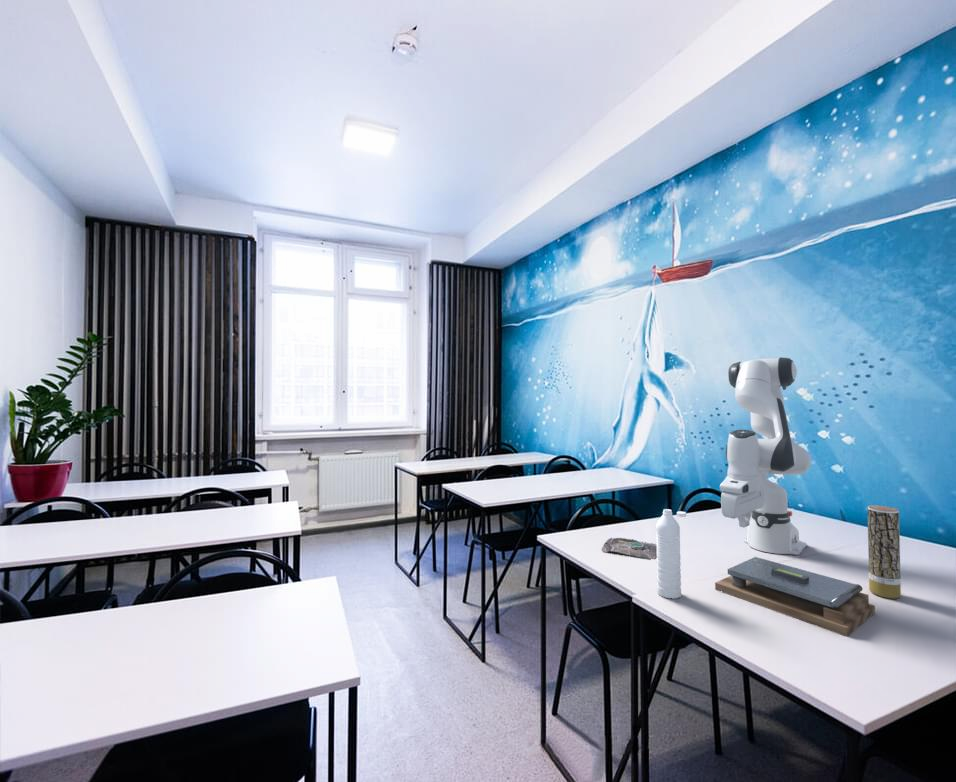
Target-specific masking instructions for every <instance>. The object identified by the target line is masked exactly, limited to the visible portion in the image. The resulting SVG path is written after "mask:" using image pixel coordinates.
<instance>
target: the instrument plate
mask: <svg viewBox="0 0 956 782" xmlns="http://www.w3.org/2000/svg"><path fill="white" fill-rule="evenodd" d="M727 575H729V576H731V575H732V576H735V577H738V578H741V579H744V580H747V581H751V582H754V583H757V584H760V585H763V586H766V587H769V588H772V589H776V590H779V591H782V592H785V593H788V594H791V595H794V596H798V597H801V598H804V599H807V600H810V601H813V602H816V603H819V604H823V605H826V606H829V607H832V608H833V609H837V608H839V607H840V606H841V605H843V604H844V603H845V602H847V601H848V600H850V599H851V598H852V597H854V596H855V595H857V594H858V593H859V592H860V593H862V591H863V587H862V586H861V585H860V584H857V583H852V582H848V581H844V580H841V579H838V578H834V577H831V576H826V575H823V574H819V573H816V572H811V571H809V570H805V569H802V568H799V567H795V566H791V565H790V566H789V565H786V564H782V563H780V562H776V561H771V560H768V559H764V558H761V557H757V556H754V557H752V558H750V559H748V560H745V561H743V562H741V563H738V564H736V565H734V566H732V567H730V568H727Z"/></svg>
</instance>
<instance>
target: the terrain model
mask: <svg viewBox="0 0 956 782" xmlns="http://www.w3.org/2000/svg"><path fill="white" fill-rule="evenodd" d="M601 551H602V552H601V553H604V554H605V553H606V554H611V553H612V554H613V555H617V554H618V556H623V555H624V556H623V557H629V556H630V557H631V558H636V559H642V560H643V559H644V560H649V561H652V560H657V559H656V558H657V543H653V542H646V541H645V542H644V541H638V540H636V539H631V538H623V537H610V538H608V539H607V540H606V541H605V542H604V544H603V546H602V548H601ZM630 557H629V558H630ZM651 559H652V560H651Z"/></svg>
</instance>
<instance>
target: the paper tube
mask: <svg viewBox="0 0 956 782" xmlns="http://www.w3.org/2000/svg"><path fill="white" fill-rule="evenodd" d="M899 510H900V509H898V508H897V507H896V508H895V507H892V506H885V505H876V504H875V505H867V537H868V539H867V541H868V542H867V544H868V545H867V548H868V582H869V584H868V586H869V587H868V589H869V591H870V592H871V593H872V594H873V595H876V596H878V597H881V598H884V599H891V600H893V599H894V600H895V599H899V598H900V597H901V596H902V595H901V594H902V593H901V592H902V591H901V584H902V583H901V582H902V581H901V580H902V579H901V538H900V537H901V536H900V511H899Z"/></svg>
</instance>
